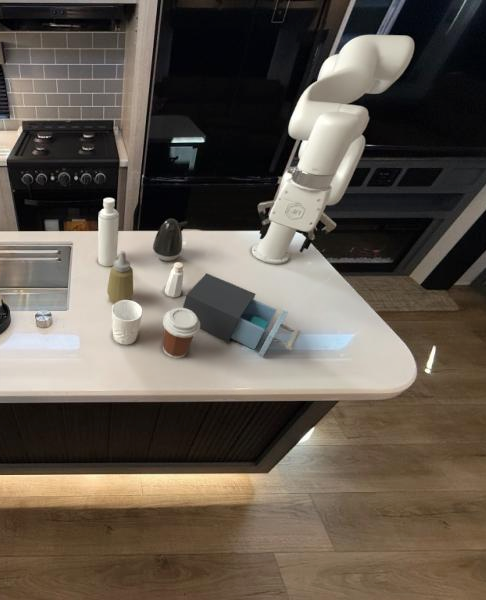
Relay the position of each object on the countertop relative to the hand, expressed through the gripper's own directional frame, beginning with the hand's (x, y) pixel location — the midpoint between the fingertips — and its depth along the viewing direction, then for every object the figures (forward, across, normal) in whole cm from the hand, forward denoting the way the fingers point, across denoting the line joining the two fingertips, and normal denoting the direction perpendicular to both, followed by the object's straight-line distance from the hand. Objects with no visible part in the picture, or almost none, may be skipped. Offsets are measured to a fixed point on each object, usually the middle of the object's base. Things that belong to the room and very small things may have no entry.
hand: (281, 243), depth 81 cm
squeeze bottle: (+23, -33, -24) cm, 47 cm away
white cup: (+22, -23, -35) cm, 48 cm away
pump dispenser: (+23, -34, +6) cm, 42 cm away
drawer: (+22, +4, -13) cm, 26 cm away
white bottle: (+23, -49, -10) cm, 55 cm away
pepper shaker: (+23, -22, -10) cm, 33 cm away
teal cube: (+20, +4, -13) cm, 25 cm away
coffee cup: (+22, -10, -30) cm, 39 cm away
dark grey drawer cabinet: (+23, -7, -13) cm, 27 cm away
